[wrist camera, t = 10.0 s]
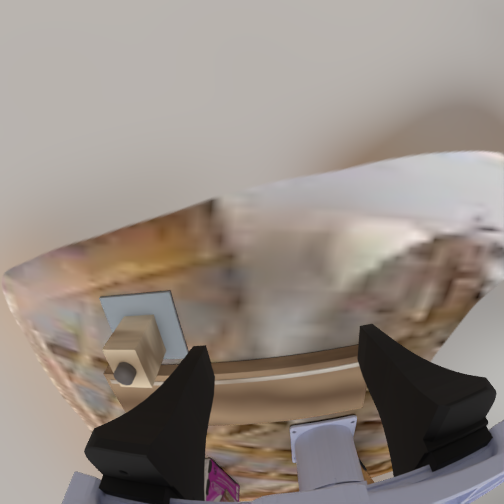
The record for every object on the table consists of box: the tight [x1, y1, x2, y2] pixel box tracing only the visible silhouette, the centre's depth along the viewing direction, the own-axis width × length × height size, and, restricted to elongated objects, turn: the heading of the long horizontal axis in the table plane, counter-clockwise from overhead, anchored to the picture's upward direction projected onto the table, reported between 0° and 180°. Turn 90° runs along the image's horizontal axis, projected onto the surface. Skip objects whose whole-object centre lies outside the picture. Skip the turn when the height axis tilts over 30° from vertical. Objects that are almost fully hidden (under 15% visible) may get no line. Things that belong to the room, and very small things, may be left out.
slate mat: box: [99, 291, 189, 359], centre depth 25 cm, size 7×7×1 cm
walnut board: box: [104, 345, 367, 426], centre depth 26 cm, size 8×26×2 cm, turn 98°
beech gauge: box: [102, 315, 166, 388], centre depth 22 cm, size 4×3×6 cm
